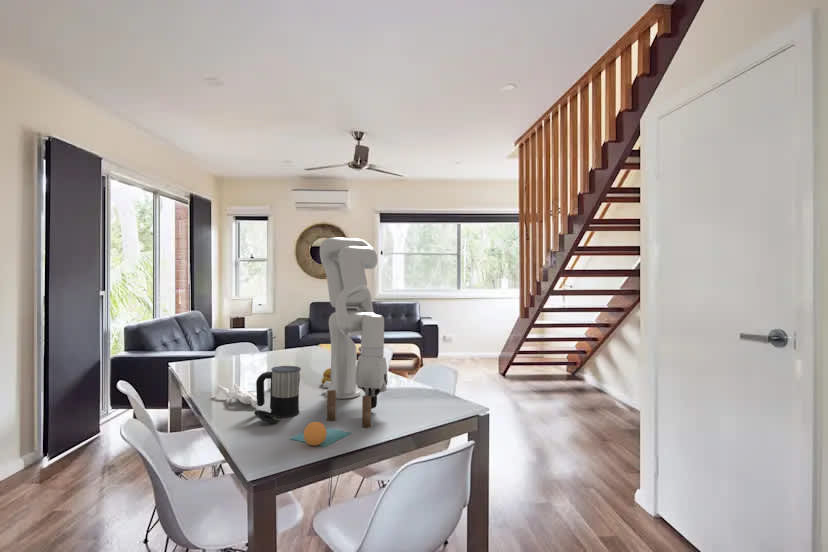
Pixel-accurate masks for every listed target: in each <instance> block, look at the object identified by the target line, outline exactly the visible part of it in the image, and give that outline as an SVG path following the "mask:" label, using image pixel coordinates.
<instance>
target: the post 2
mask: <svg viewBox="0 0 828 552" xmlns="http://www.w3.org/2000/svg"><path fill="white" fill-rule="evenodd" d="M361 401H362V405H361V406H362V408H361V411H362V413H361V414H362V416H361V418H362V419H361V427H362V428H363V429H368V428H371V427H372V409H371V396H370V395H365V394H364V395H362V400H361Z"/></svg>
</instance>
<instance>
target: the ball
mask: <svg viewBox="0 0 828 552" xmlns="http://www.w3.org/2000/svg"><path fill="white" fill-rule="evenodd" d="M325 427H326V425H324V424H323V423H321V422H320V421H313V422H310V423H308V424H307V425H306V427H305V428H304V430H303V432H304V439H305V441H306V442H307V443H306V442H305V443H306V444H307V445H310V446H319V444H321V443H322V442H323V441H324V440H325V438H326V435H327V431H326V428H325Z"/></svg>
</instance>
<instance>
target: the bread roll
mask: <svg viewBox="0 0 828 552" xmlns="http://www.w3.org/2000/svg"><path fill="white" fill-rule="evenodd" d="M322 375H323V377H322V379H321V384H322V385H323V384H324V383H325V381H330V382H331V367H329V368H326V370H324V372H323V374H322Z"/></svg>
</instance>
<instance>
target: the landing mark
mask: <svg viewBox="0 0 828 552" xmlns="http://www.w3.org/2000/svg"><path fill="white" fill-rule="evenodd" d="M325 428H326V431H327V435H326V438H325V440H324V441H323V442H322V443H321V444H319V445H318V447H319V446H320V447H323V448H325V447H328V446H329V445H332V444H333V443H335V442H338V441H339V440H341V439H343V438H345V437H347V436H349V435H351V434H352V432H351V431H346V430H340V429H336V428H331V427H327V426H325ZM289 440H294V441H298V442H302V443H306V444H308V443H307V442H306V441H305V439H304V431H303V432H301V433H299V434H296V435H294V436H292V437H290V438H289Z"/></svg>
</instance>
